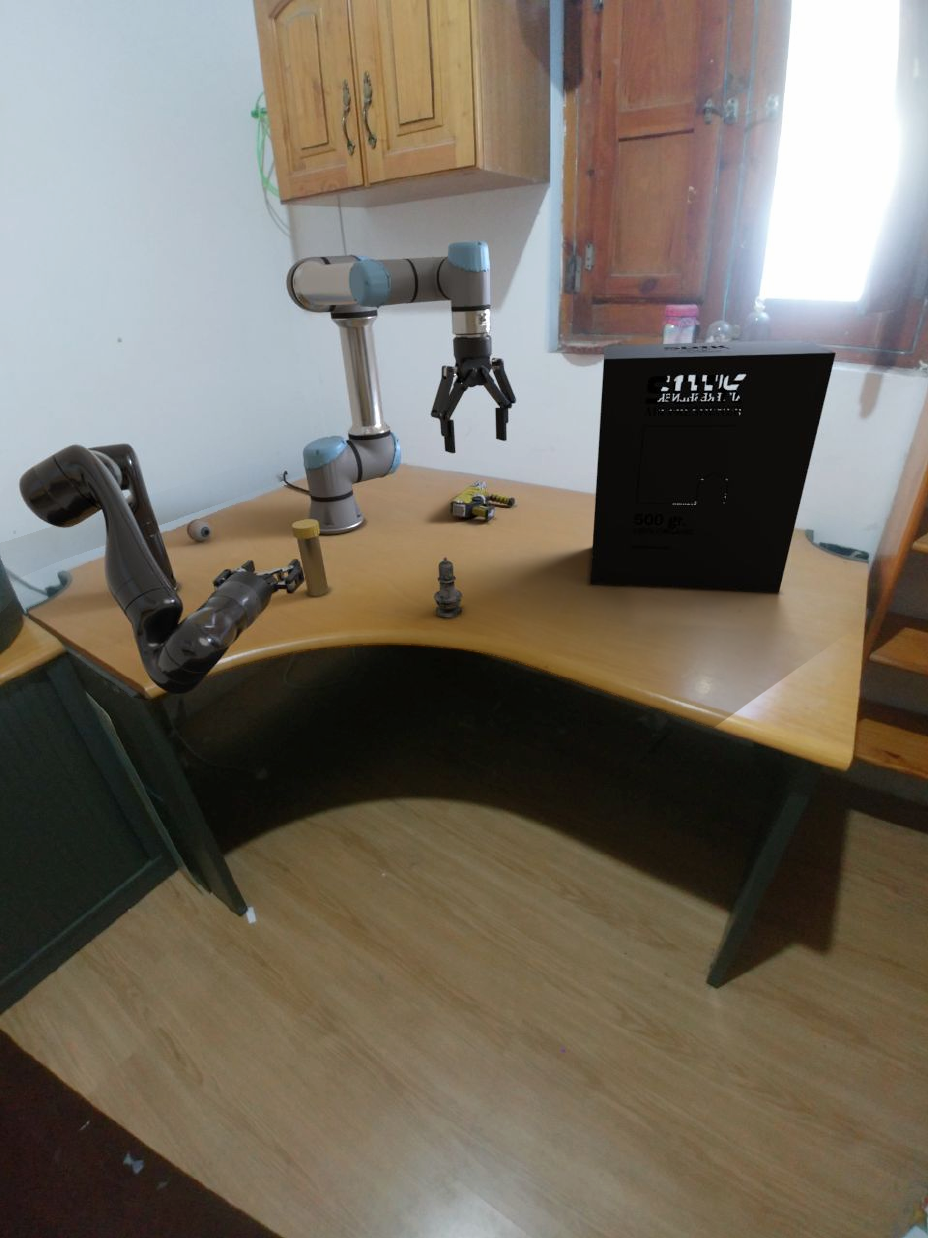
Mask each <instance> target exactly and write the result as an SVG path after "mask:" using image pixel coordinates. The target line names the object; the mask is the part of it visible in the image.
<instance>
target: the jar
mask: <svg viewBox="0 0 928 1238" xmlns="http://www.w3.org/2000/svg"><path fill="white" fill-rule="evenodd" d="M296 540H297V545H298V550H299V555H300V556H299V557H300V560H301V561H300V562H301V567H302V568H303V573H304V578H305V585H306V591H307V594H308V595H309V596H310V597H321V596H322V597H323V596H324V595H327V594H328V593H329V586H328V581H327V574H326V570H325V563H324V558H323V552H322V548H321V543H320V537H319V535H317V536H315V537H312V538H307V539H299V538H296Z"/></svg>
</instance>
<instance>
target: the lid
mask: <svg viewBox="0 0 928 1238" xmlns="http://www.w3.org/2000/svg"><path fill="white" fill-rule="evenodd" d="M291 528H292V529H291V530H292V534H293V537H294V538H296V539H297V538H299V539H307V538H312V537H315V536H317V535H318V536H319V535H320V534H319V533H320V528H319V523H318V521H317V520H314V519H309V518H305V519H300V520H297V521H295V522H293V523H292V525H291Z"/></svg>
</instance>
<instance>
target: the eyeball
mask: <svg viewBox="0 0 928 1238" xmlns="http://www.w3.org/2000/svg"><path fill="white" fill-rule="evenodd" d="M186 533H187V535H188V537H189V538H190V539H191V540H192V541H194V542H205V541H207V540H208V539H209V538H210V537H211V534H212V527H211V524H210V523H209V522H207V520H204V519H201V518H195V519H193V520H191V521H190V522H189V523H187V527H186Z"/></svg>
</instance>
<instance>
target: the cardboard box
mask: <svg viewBox="0 0 928 1238" xmlns="http://www.w3.org/2000/svg"><path fill="white" fill-rule="evenodd" d="M603 351H604V352H603V365H602V367H603V368H602V384H601V385H602V386H601V399H600V413H599V415H600V417H599V418H600V419H599V433H598V448H597V449H598V450H597V466H596V483H595V498H594V499H595V500H594V514H593V515H594V517H593V531H592V532H593V533H592V534H593V535H592V548H591V566H590V567H591V568H590V585H603V586H605V585H606V586H624V587H625V586H626V587H627V586H628V587H645V588H646V587H649V588H667V589H668V588H669V589H670V588H671V589H688V590H689V589H692V590H713V591H731V592H733V591H734V592H735V591H736V592H755V593H756V592H757V593H776V594H777V593H778V594H779V593H780V589H781V586H782V581H783V577H784V574H785V573H784V572H785V569H786V565H787V560H788V558H789V557H788V556H789V552H790V547H791V545H792V544H791V543H792V540H793V535H794V531H795V526H796V522H797V519H798V515H799V510H800V505H801V502H802V498H803V494H804V490H805V484H806V481H807V476H808V472H809V468H810V463H811V459H812V455H813V452H814V448H815V441H816V439H817V434H818V430H819V425H820V420H821V417H822V413H823V409H824V406H825V405H824V404H825V401H826V396H827V392H828V388H829V383H830V380H831V375H832V371H833V367H834V363H835V358H836V354H837V353H836V352H835V351H833V350H830V349H828V348H826V347H823V346H821V345H818V344H815V343H813V342H811V341H808V340H806V339H804V338H803V339H774V340H745V341H744V340H742V341H718V342H717V341H714V342H713V341H711V342H708V341H707V342H684V343H683V342H682V343H681V342H680V343H679V342H678V343H649V344H647V343H646V344H619V345H617V344H616V345H604V349H603ZM740 375H742V376H743V375H745V376H744V377H743V378H742V379H737V378H738V376H740ZM680 376H682V380H681V382H680V388H679V390H676V386H677V380H676V379H677V377H680ZM690 376H694V383H693V382H692V381H693V380H689V379H690ZM704 376H706V380H703V378H704ZM721 378H722V379H721ZM726 378H727V382H726V386H727V387H731V386H737V387H736V388H735V389H726V388H725V381H726ZM720 384H721V385H720ZM693 386H696V389H692V387H693ZM706 386H711V389H709V390H708V389H705V388H706ZM663 388H667V390H663Z"/></svg>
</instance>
